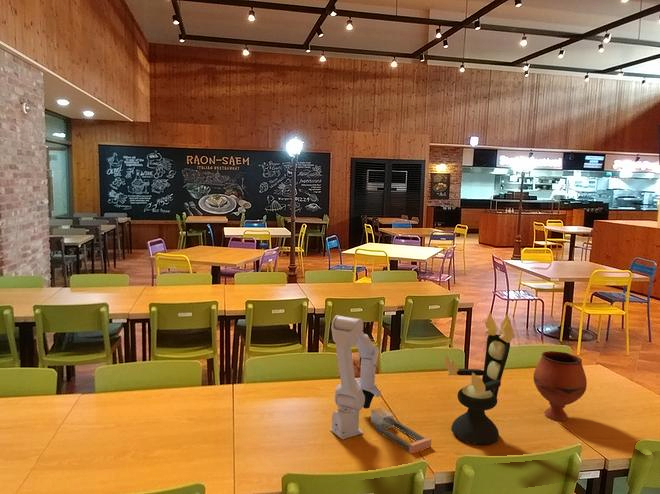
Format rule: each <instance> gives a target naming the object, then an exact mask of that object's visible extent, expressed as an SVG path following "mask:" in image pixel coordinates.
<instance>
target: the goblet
mask: <svg viewBox="0 0 660 494" xmlns="http://www.w3.org/2000/svg"><path fill="white" fill-rule="evenodd" d="M582 362H583V360H582V358H580V357H578V356H576V355H573V354H570V353H568V352H563V351H553V350H551V351H544V352H542V353H541V357H540V360H539V362H538V363H537V365H536V367H535V369H534V371H533V383H534V384H535V388H536V389H537V391H538V392H539V393H540V395H541V396H542V397H543V398H544V399H545V400H546V401H548V403H549V405H550V407H548V408H546V409H545V410H544V412H543V414H545V415H544V416H545V417H546V416H547V417H546V418H547V419H550V418H551V419H550V420H552V419H553V421H556V420H557V421H558V422H565V421H568V419H567V418H568V414H567V413H566V411H564V408H565V407H566V406H568V405H571V404H573V403H575V402H576V401H578V400H580V399H581V398H582V397H583V395H584V394H585V393H586V390H587V387H588V386H587V383H588V382H587V375H586V372H585V369H584V367H583V363H582Z"/></svg>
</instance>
